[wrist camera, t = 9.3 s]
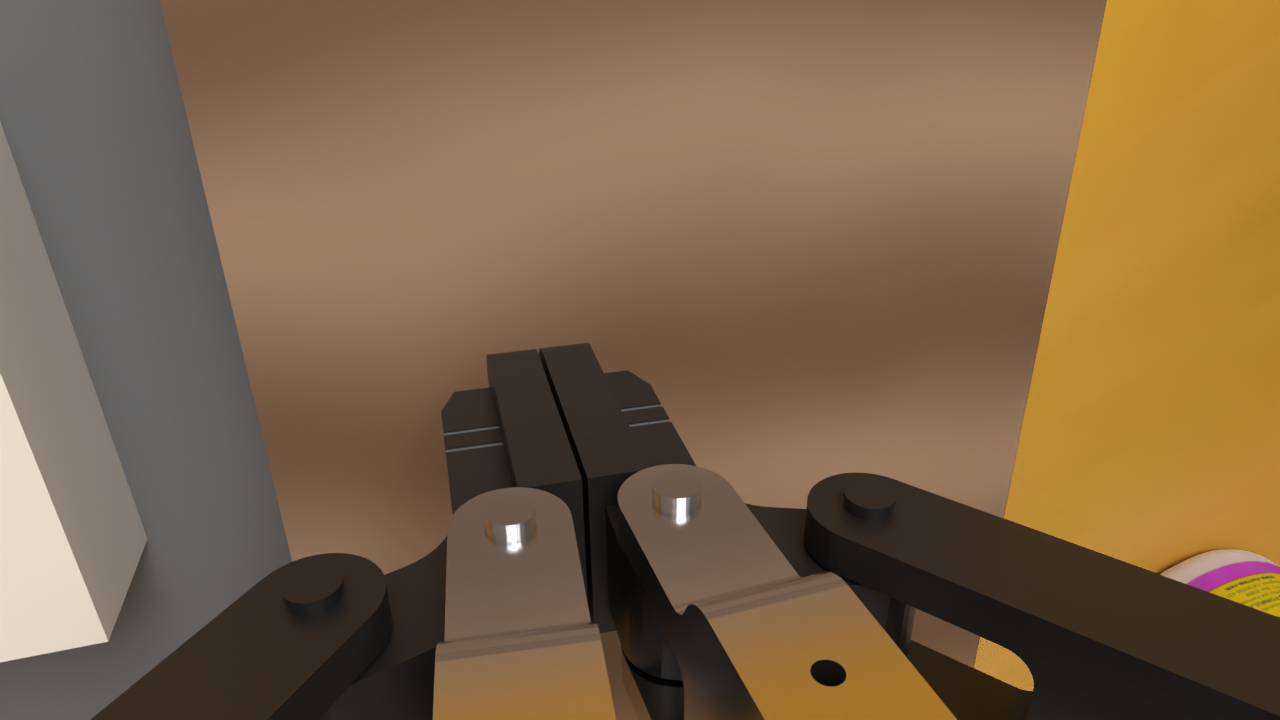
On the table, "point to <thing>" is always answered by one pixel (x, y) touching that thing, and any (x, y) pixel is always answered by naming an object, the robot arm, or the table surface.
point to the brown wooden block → (637, 233)
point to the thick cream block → (53, 460)
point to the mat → (137, 331)
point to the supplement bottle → (1233, 577)
